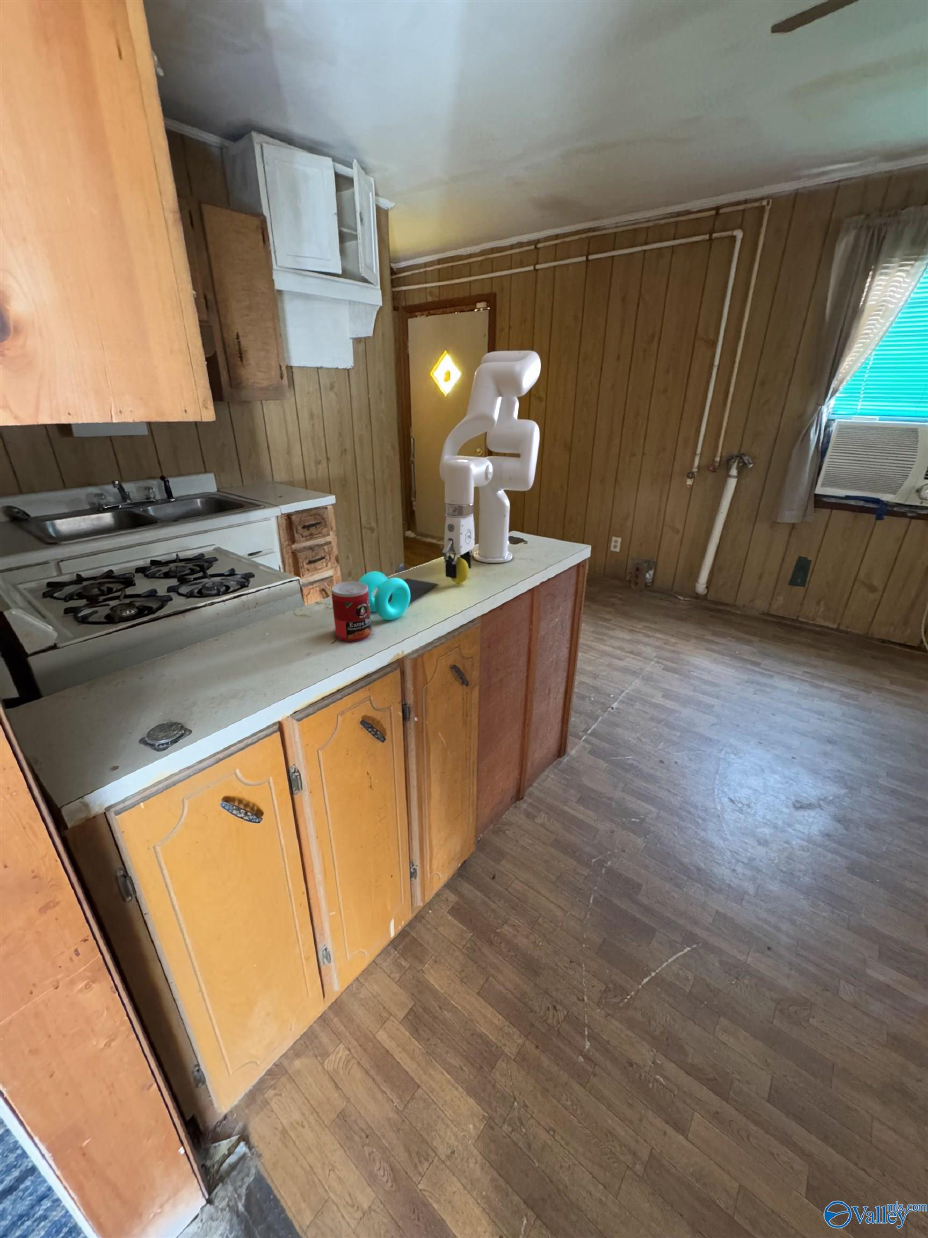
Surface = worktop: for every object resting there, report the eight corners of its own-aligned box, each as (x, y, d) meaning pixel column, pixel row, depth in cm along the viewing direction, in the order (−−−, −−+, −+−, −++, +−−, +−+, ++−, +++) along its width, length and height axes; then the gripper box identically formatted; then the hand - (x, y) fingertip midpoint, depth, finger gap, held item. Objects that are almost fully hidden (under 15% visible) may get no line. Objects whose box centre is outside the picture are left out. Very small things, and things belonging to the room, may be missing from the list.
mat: (406, 579, 143) (406, 578, 143) (437, 585, 139) (437, 583, 139) (370, 600, 128) (370, 599, 128) (404, 607, 124) (404, 606, 124)
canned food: (350, 645, 105) (345, 596, 101) (328, 634, 110) (323, 587, 106) (379, 634, 110) (375, 587, 106) (357, 623, 115) (353, 578, 111)
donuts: (385, 603, 127) (383, 565, 123) (413, 614, 121) (412, 574, 117) (354, 615, 120) (350, 575, 116) (381, 627, 114) (379, 585, 110)
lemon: (469, 581, 142) (469, 554, 139) (467, 588, 137) (468, 560, 134) (450, 580, 143) (450, 553, 139) (447, 587, 138) (447, 559, 134)
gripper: (457, 517, 123) (457, 584, 130) (485, 505, 137) (483, 565, 144) (430, 514, 126) (431, 579, 133) (460, 502, 140) (459, 562, 147)
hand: (458, 572), depth 138 cm, fingers open, 8 cm apart
